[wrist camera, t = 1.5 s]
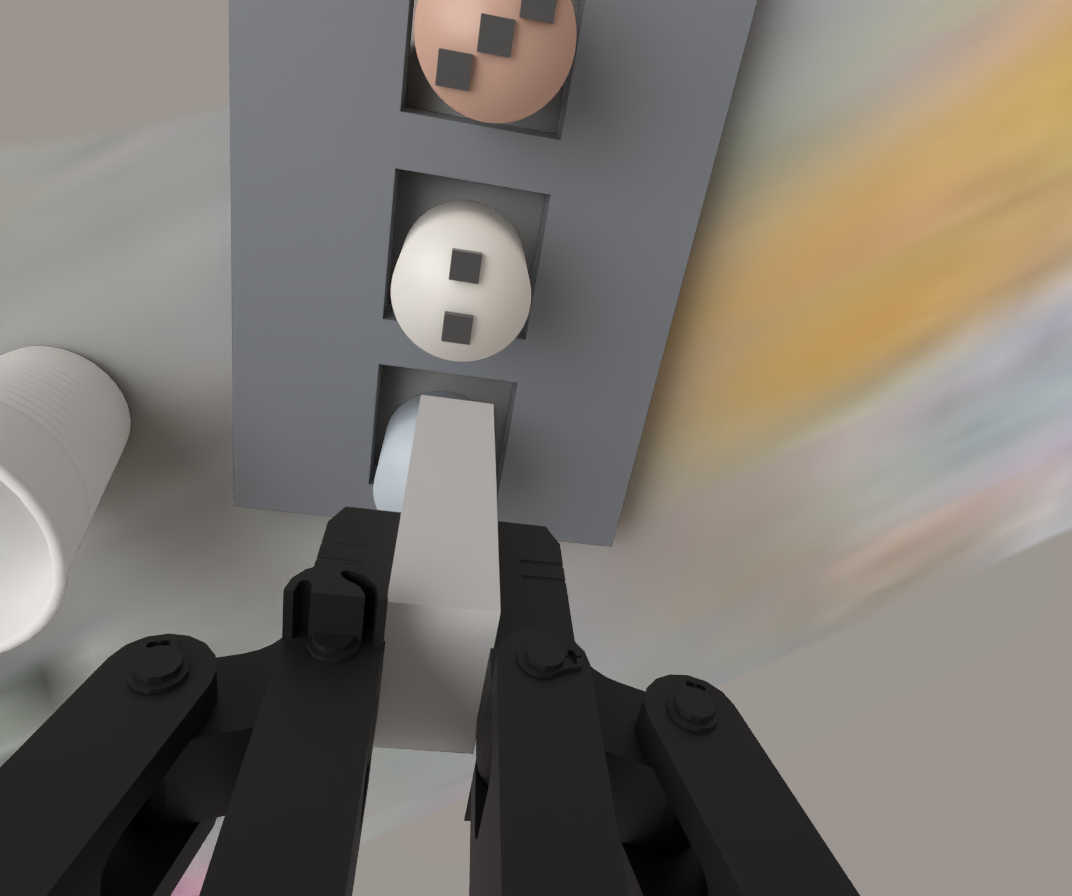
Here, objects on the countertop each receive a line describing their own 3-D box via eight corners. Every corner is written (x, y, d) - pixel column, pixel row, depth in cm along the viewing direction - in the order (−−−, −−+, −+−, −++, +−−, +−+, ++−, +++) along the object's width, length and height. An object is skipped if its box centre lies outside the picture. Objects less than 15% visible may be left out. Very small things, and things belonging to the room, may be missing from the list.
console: (245, 483, 37) (233, 506, 35) (244, -187, 25) (226, -204, 24) (606, 524, 40) (611, 546, 38) (759, -71, 28) (778, -78, 26)
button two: (396, 312, 31) (384, 354, 27) (408, 190, 29) (396, 216, 25) (514, 329, 32) (519, 373, 28) (534, 210, 29) (542, 239, 25)
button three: (416, 98, 27) (405, 109, 23) (431, -61, 25) (421, -80, 21) (549, 122, 28) (561, 137, 24) (574, -31, 26) (592, -43, 22)
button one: (381, 481, 35) (367, 541, 31) (390, 384, 32) (376, 435, 28) (486, 493, 35) (487, 554, 31) (502, 399, 33) (505, 451, 29)
